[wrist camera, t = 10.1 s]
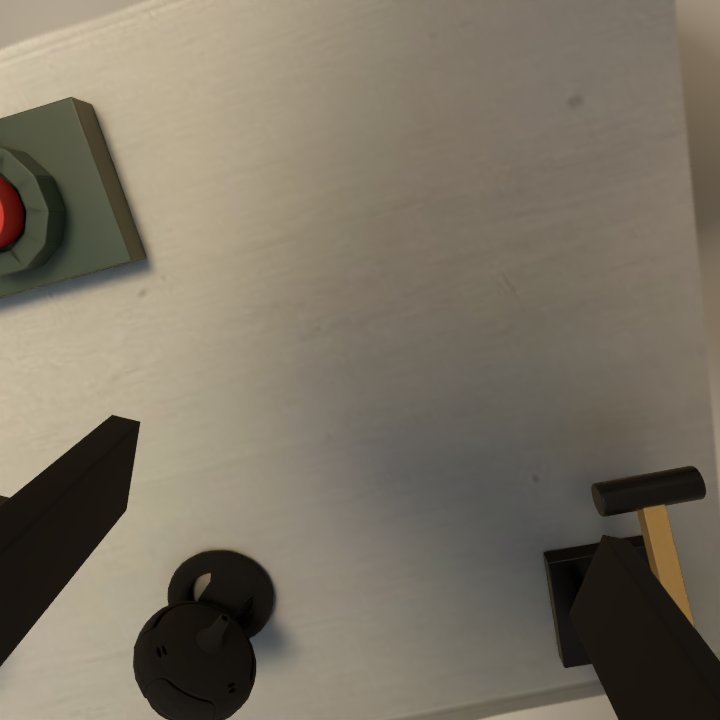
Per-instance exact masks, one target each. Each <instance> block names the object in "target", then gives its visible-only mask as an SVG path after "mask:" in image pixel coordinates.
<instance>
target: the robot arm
mask: <svg viewBox="0 0 720 720" xmlns="http://www.w3.org/2000/svg"><path fill="white" fill-rule="evenodd" d="M139 427H140V422H139V421H135V420H131V419H127V418H122V417H118V416H114V415H112V416H110V417H109V418H108V419H107V420H105V421H104V422H103V423H102V424H100V425H99V426H98V427H97V428H96V429H94V430H93V431H92V432H91V433H89V434H88V435H87V436H86V437H84V438H83V439H82V440H81V441H80V442H78V443H77V444H76V445H75V446H73V447H72V448H71V449H70V450H69V451H67V452H66V453H65V454H64V455H62V456H61V457H60V458H59V459H57V460H56V461H55V462H54V463H53V464H51V465H50V466H49V467H48V468H46V469H45V470H44V471H43V472H41V473H40V474H39V475H38V476H37V477H35V478H34V479H33V480H32V481H30V482H29V483H28V484H27V485H26V486H24V487H23V488H22V489H21V490H19V491H18V492H17V493H16V494H14V495H13V496H12V497H11V498H8V497H4V496H0V666H1V665H2V664H3V663H4V661H5V660H6V659H7V658H8V657H9V655H10V654H11V653H12V652H13V650H14V649H15V648H16V647H17V645H18V644H19V643H20V642H21V640H22V639H23V638H24V637H25V635H26V634H27V633H28V632H29V630H30V629H31V628H32V627H33V625H34V624H35V623H36V622H37V620H38V619H39V618H40V617H41V615H42V614H43V613H44V612H45V610H46V609H47V608H48V607H49V605H50V604H51V603H52V602H53V601H54V599H55V598H56V597H57V596H58V594H59V593H60V592H61V591H62V589H63V588H64V587H65V586H66V584H67V583H68V582H69V581H70V579H71V578H72V577H73V576H74V574H75V573H76V572H77V571H78V569H79V568H80V567H81V566H82V564H83V563H84V562H85V561H86V559H87V558H88V557H89V556H90V554H91V553H92V552H93V551H94V549H95V548H96V547H97V546H98V544H99V543H100V542H101V541H102V540H103V538H104V537H105V536H106V535H107V533H108V532H109V531H110V530H111V528H112V527H113V526H114V525H115V523H116V522H117V521H118V520H119V518H120V517H121V516H122V515H123V513H124V512H125V511H126V509H127V503H128V496H129V490H130V484H131V477H132V471H133V465H134V458H135V452H136V446H137V439H138V433H139ZM569 616H570V618H571V620H572V622H573V624H574V627H575V629H576V631H577V633H578V635H579V637H580V639H581V641H582V643H583V646H584V648H585V650H586V652H587V654H588V656H589V658H590V660H591V662H592V665H593V667H594V669H595V671H596V673H597V675H598V677H599V679H600V681H601V684H602V686H603V688H604V690H605V692H606V694H607V696H608V698H609V701H610V702H611V704H612V707H613V709H614V711H615V713H616V715H617V717H618V720H720V661H719V660H718V658H717V657H716V656H715V654H714V653H713V652H712V650H711V649H710V648H709V646H708V645H707V644H706V642H705V641H704V640H703V638H702V637H701V636H700V634H699V633H698V632H697V630H696V629H695V628H694V627H693V625H692V624H691V623H690V621H689V620H688V619H687V617H686V616H685V615H684V613H683V612H682V611H681V609H680V608H679V607H678V605H677V604H676V603H675V601H674V600H673V599H672V597H671V596H670V595H669V593H668V592H667V591H666V589H665V588H664V587H663V585H662V584H661V583H660V581H659V580H658V579H657V577H656V576H655V575H654V573H653V572H652V571H651V569H650V568H649V567H648V566H647V564H646V563H645V562H644V560H643V559H642V558H641V556H640V555H639V554H638V552H637V551H636V550H635V548H634V547H633V546H632V544H631V543H630V542H629V541H627V540H623V539H619V538H615V537H610V536H606V535H603V536H602V539H601V541H600V543H599V545H598V548H597V550H596V552H595V555H594V557H593V559H592V562H591V564H590V566H589V569H588V571H587V573H586V576H585V578H584V580H583V582H582V585H581V587H580V589H579V592H578V594H577V596H576V599H575V601H574V603H573V606H572V608H571V610H570V612H569Z"/></svg>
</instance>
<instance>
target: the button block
mask: <svg viewBox="0 0 720 720" xmlns="http://www.w3.org/2000/svg"><path fill="white" fill-rule="evenodd" d="M0 178H2V179H4V180H5V181H6V182H7V183H9V184H10V185H11V186H12V187H13V189H14V190H15V191H16V193H17V194H18V196H19V198H20V200H21V203H22V206H23V210H24V223H23V227H22V230H21V232H20V234H19V236H18V237H17V238H16V239H15V240H14V241H13V242H12V243H11V244H9V245H7V246H5V247H2V248H0V298H2V297H6V296H10V295H13V294H17V293H21V292H24V291H28V290H31V289H35V288H39V287H42V286H46V285H50V284H53V283H57V282H61V281H64V280H68V279H72V278H75V277H79V276H82V275H86V274H90V273H93V272H97V271H101V270H104V269H108V268H112V267H115V266H119V265H122V264H126V263H130V262H133V261H137V260H141V259H144V258H146V256H145V253H144V250H143V247H142V245H141V242H140V239H139V236H138V233H137V231H136V228H135V225H134V222H133V220H132V217H131V214H130V211H129V208H128V206H127V203H126V200H125V197H124V195H123V192H122V189H121V186H120V183H119V181H118V178H117V175H116V172H115V170H114V167H113V164H112V161H111V158H110V156H109V153H108V150H107V147H106V145H105V142H104V139H103V136H102V133H101V131H100V128H99V125H98V122H97V119H96V117H95V114H94V111H93V108H92V106H91V104H89V103H87V102H84V101H81V100H78V99H75V98H73V97H69V98H66V99H63V100H60V101H56V102H53V103H50V104H47V105H43V106H40V107H37V108H34V109H30V110H27V111H24V112H21V113H17V114H14V115H11V116H7V117H4V118H1V119H0Z"/></svg>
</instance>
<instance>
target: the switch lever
mask: <svg viewBox="0 0 720 720" xmlns="http://www.w3.org/2000/svg"><path fill="white" fill-rule="evenodd" d="M705 495H706V488H705V483H704V480H703V478H702V476H701V474H700V472H699V471H698V470H697V469H696V468H695V467H694V466H686V467H681V468H675V469H670V470H665V471H659V472H654V473H648V474H643V475H637V476H632V477H627V478H621V479H616V480H610V481H605V482H600V483H594V484H592V497H593V501H594V504H595V507H596V509H597V511H598V513H599V514H600V515H601V516H603V517H605V516H610V515H616V514H622V513H627V512H633V511H637V513H638V517H639V521H640V525H641V530H642V534H643V538H644V542H645V547H646V551H647V555H648V559H649V564H650V568H651V571H652V572H653V573H654V575H655V576H656V577H657V579H658V580H659V581H660V583H661V584H662V585H663V587H664V588H665V589H666V591H667V592H668V593H669V595H670V596H671V597H672V599H673V600H674V601H675V603H676V604H677V605H678V607H679V608H680V609H681V611H682V612H683V613H684V615H685V616H686V617H687V619H688V620H689V621H690V623H691V624H692V625H693V627H694V623H693V619H692V615H691V611H690V607H689V602H688V598H687V594H686V590H685V586H684V582H683V578H682V573H681V569H680V565H679V561H678V557H677V553H676V548H675V544H674V540H673V536H672V532H671V528H670V523H669V519H668V515H667V511H666V507H665V506H666V505H672V504H677V503H683V502H688V501H694V500H700V499H703V498H704V497H705ZM694 628H695V627H694Z"/></svg>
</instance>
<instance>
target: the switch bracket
mask: <svg viewBox="0 0 720 720" xmlns="http://www.w3.org/2000/svg"><path fill="white" fill-rule="evenodd" d="M623 540H627V541H629V542H630V543H631V544H632V546H633V547H634V548H635V550H636V551H637V552H638V554H639V555H640V556H641V558H642V559H643V560H644V562H645V563H646V564H647V566H648V567H649V568H650V564H649V559H648V555H647V551H646V547H645V542H644V538H643V535H642V536H636V537H631V538H625V539H623ZM598 545H599V543H597V544H591V545H585V546H580V547H574V548H568V549H563V550H557V551H551V552H545V553H544V560H545V567H546V573H547V580H548V586H549V592H550V599H551V605H552V612H553V618H554V624H555V631H556V637H557V644H558V650H559V656H560V658H561V661H562V663H563V666H564V667H565V668H568V667H575V666H581V665H587V664H592V662H591V660H590V658H589V656H588V654H587V652H586V650H585V648H584V646H583V643H582V641H581V639H580V637H579V635H578V633H577V631H576V629H575V627H574V624H573V622H572V620H571V618H570V616H569V612H570V610H571V608H572V606H573V603H574V601H575V599H576V596H577V594H578V592H579V589H580V587H581V585H582V582H583V580H584V578H585V576H586V573H587V571H588V569H589V566H590V564H591V562H592V559H593V557H594V555H595V552H596V550H597V548H598ZM650 569H651V568H650Z"/></svg>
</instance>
